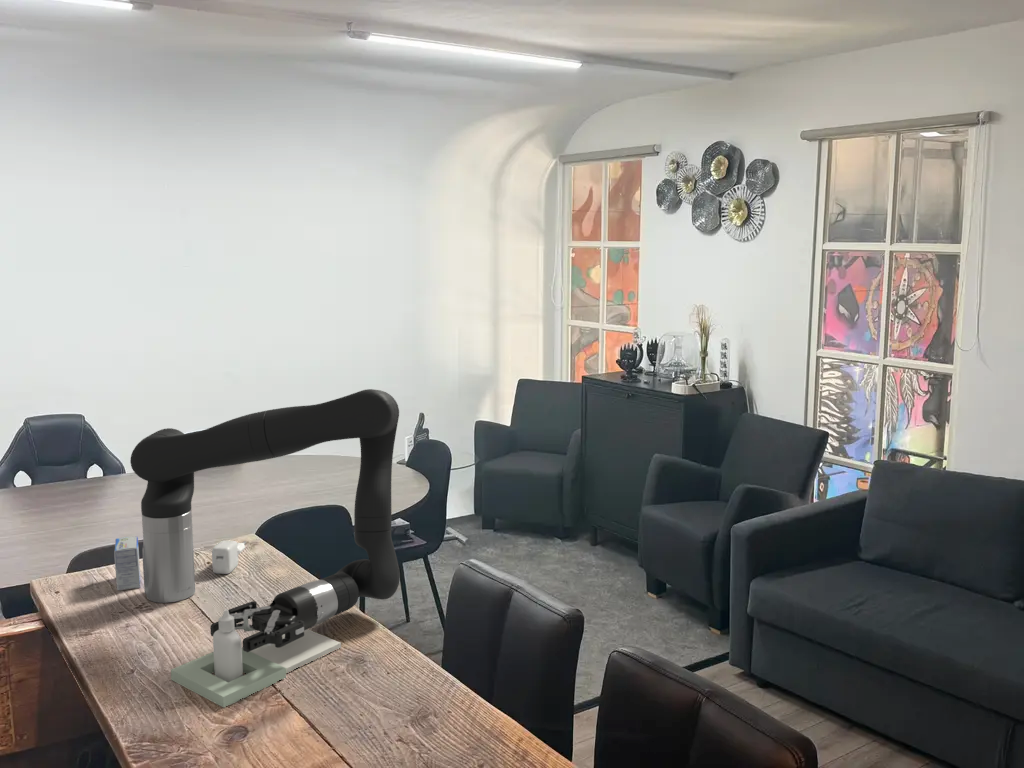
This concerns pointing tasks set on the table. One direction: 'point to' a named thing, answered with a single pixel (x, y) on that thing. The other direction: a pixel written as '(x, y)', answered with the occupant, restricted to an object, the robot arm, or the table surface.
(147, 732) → the table surface
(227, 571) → the power adapter
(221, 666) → the eye dropper bottle
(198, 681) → the holder
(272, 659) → the tile
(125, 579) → the medicine box
